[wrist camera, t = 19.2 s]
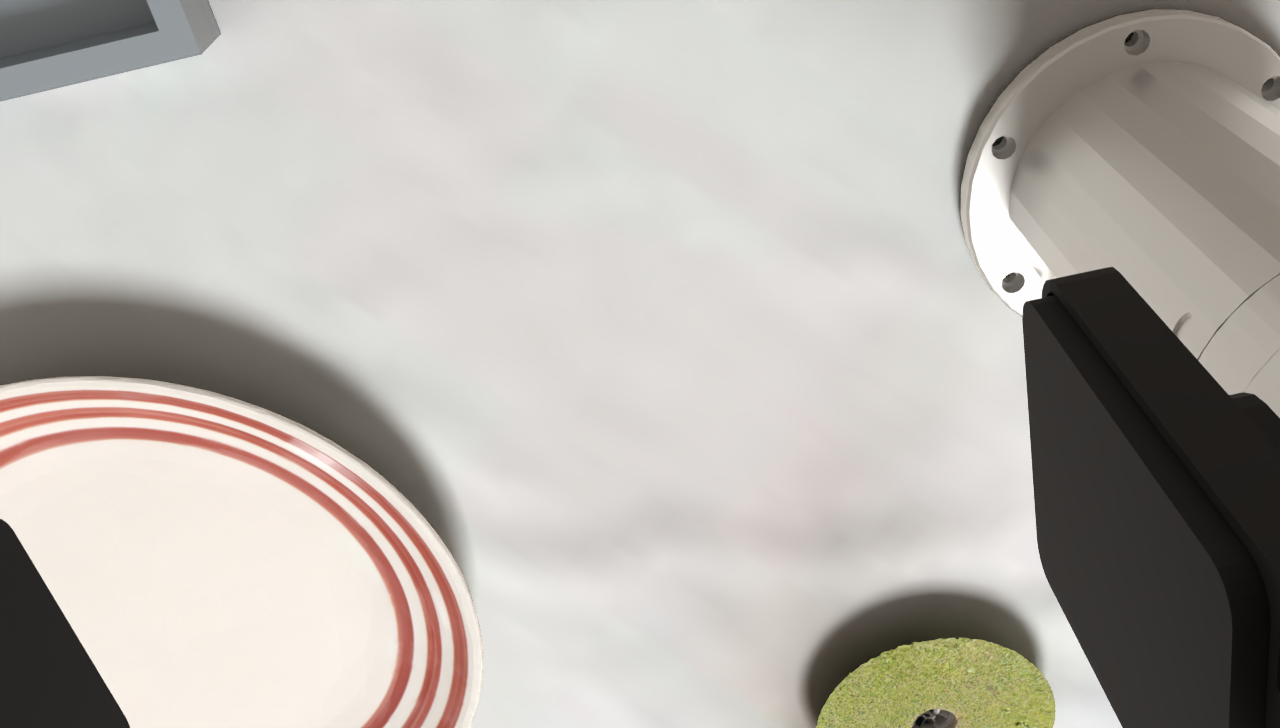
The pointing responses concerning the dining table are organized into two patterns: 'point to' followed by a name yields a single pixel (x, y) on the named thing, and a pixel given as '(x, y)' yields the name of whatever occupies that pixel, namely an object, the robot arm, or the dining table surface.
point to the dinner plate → (233, 562)
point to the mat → (942, 689)
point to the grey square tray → (95, 39)
